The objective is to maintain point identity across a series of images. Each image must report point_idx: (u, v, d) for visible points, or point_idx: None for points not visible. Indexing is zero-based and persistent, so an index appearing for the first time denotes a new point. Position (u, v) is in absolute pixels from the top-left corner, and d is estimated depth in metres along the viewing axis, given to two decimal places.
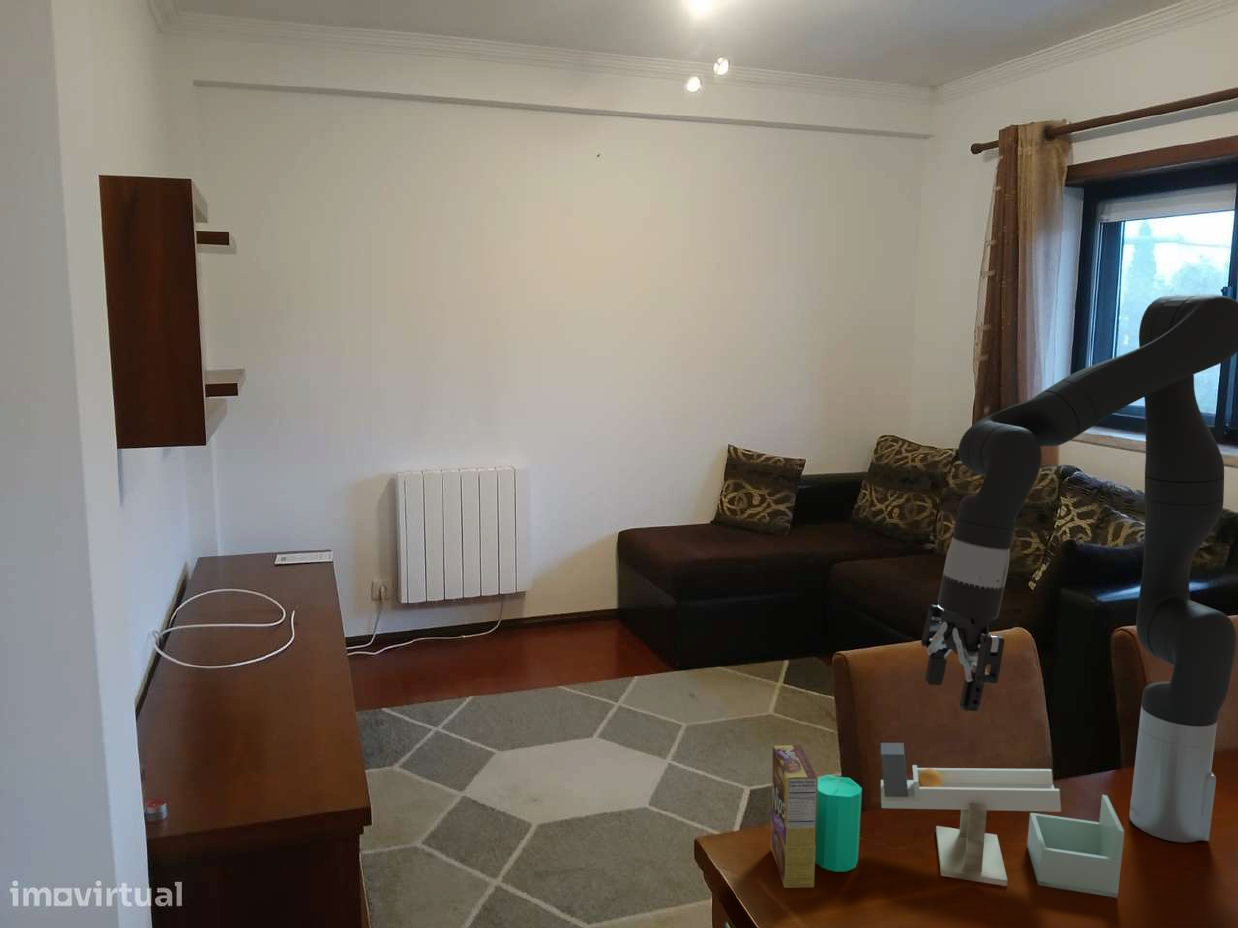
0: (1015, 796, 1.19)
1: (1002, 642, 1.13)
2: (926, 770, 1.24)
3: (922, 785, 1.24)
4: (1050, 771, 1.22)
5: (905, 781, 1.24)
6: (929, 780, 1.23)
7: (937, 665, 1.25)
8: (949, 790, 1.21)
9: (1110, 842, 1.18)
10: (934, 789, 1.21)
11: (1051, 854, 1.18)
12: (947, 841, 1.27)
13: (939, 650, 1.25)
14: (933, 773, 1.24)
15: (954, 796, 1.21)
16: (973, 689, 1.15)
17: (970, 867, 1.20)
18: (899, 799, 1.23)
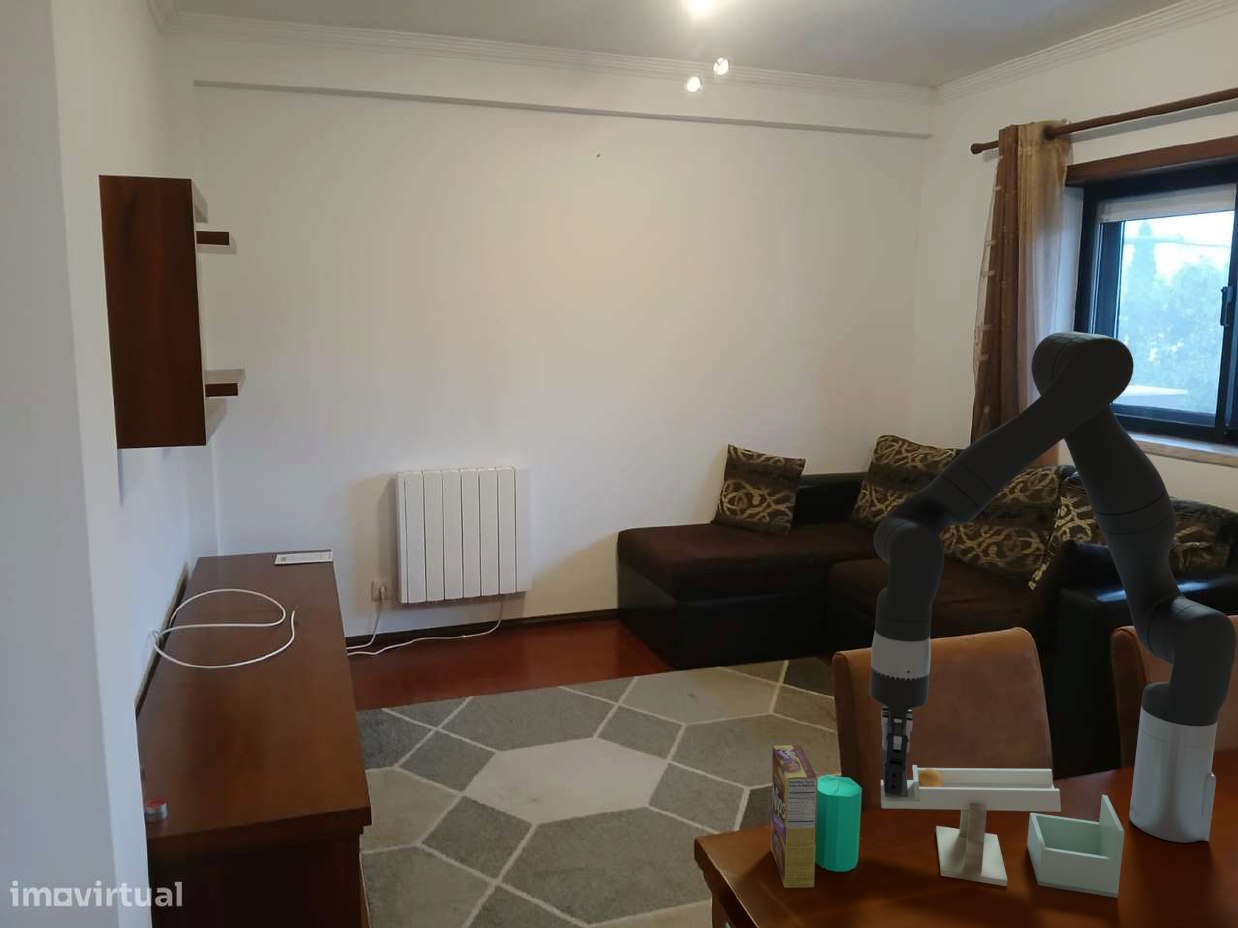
0: (1015, 796, 1.19)
1: (905, 743, 1.18)
2: (926, 770, 1.24)
3: (922, 785, 1.24)
4: (1050, 771, 1.22)
5: (905, 781, 1.24)
6: (929, 780, 1.23)
7: None
8: (949, 790, 1.21)
9: (1110, 842, 1.18)
10: (934, 789, 1.21)
11: (1051, 854, 1.18)
12: (947, 841, 1.27)
13: None
14: (933, 773, 1.24)
15: (954, 796, 1.21)
16: (889, 774, 1.23)
17: (970, 867, 1.20)
18: (899, 799, 1.23)
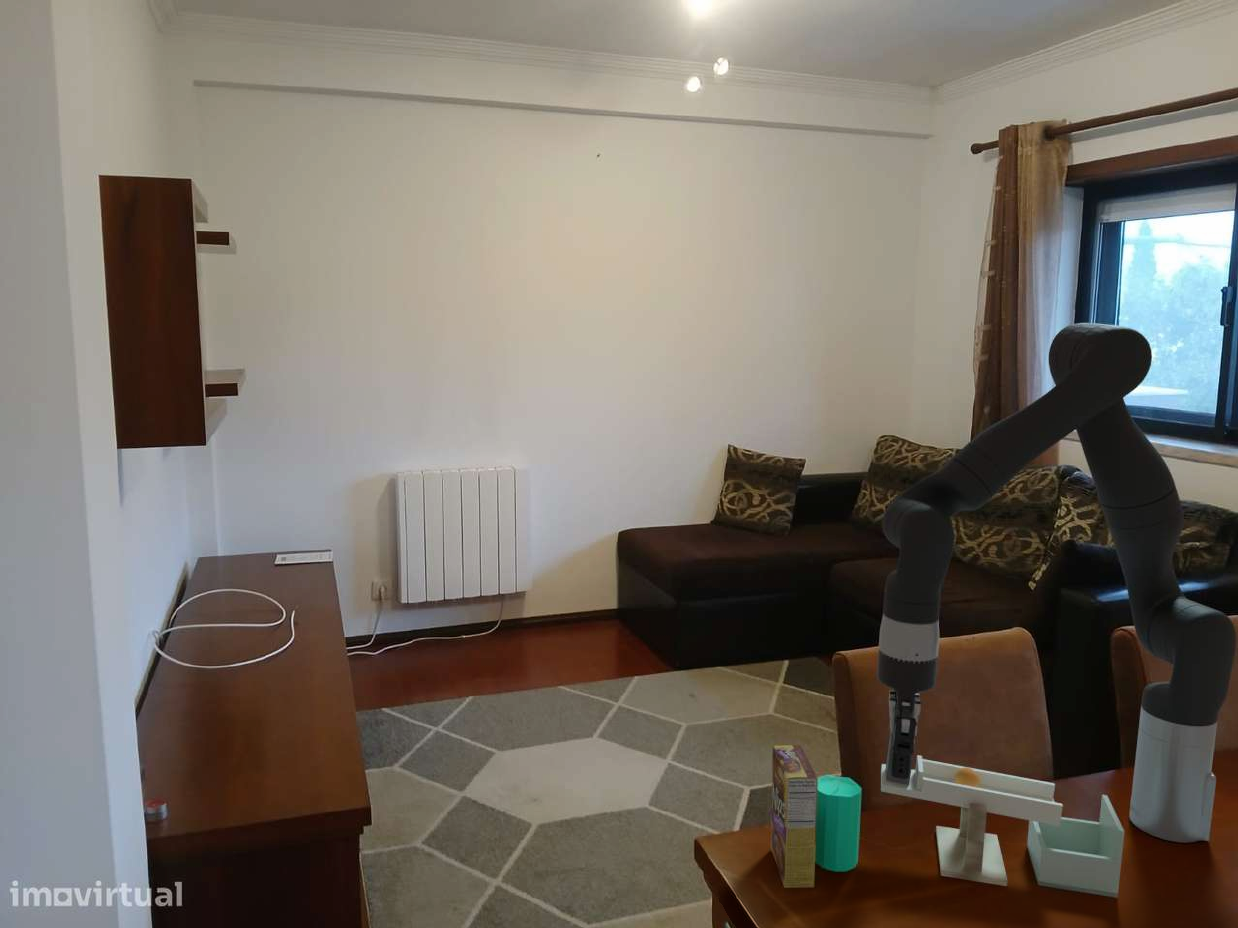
0: (1017, 803, 1.19)
1: (913, 726, 1.17)
2: None
3: (976, 780, 1.22)
4: (1053, 785, 1.23)
5: (909, 769, 1.23)
6: None
7: None
8: (952, 786, 1.21)
9: (1110, 842, 1.18)
10: (938, 782, 1.21)
11: (1051, 854, 1.18)
12: (947, 841, 1.27)
13: None
14: None
15: (956, 792, 1.21)
16: (896, 758, 1.22)
17: (970, 867, 1.20)
18: (900, 786, 1.23)
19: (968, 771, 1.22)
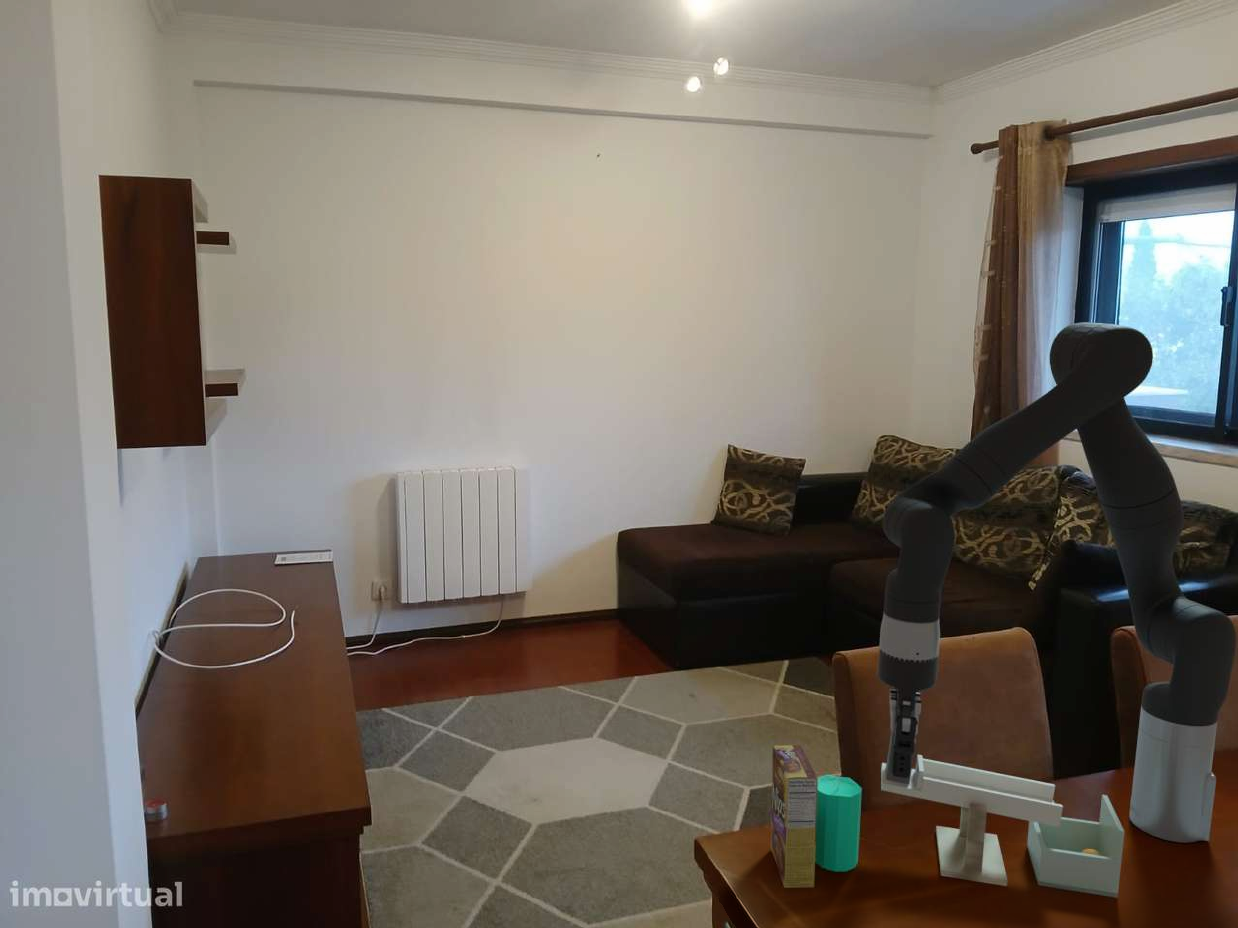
0: (1017, 804, 1.19)
1: (914, 725, 1.17)
2: None
3: None
4: (1053, 786, 1.23)
5: (910, 768, 1.23)
6: None
7: None
8: (953, 785, 1.21)
9: (1110, 842, 1.18)
10: (938, 782, 1.21)
11: (1051, 854, 1.18)
12: (947, 841, 1.27)
13: None
14: None
15: (956, 792, 1.21)
16: (897, 757, 1.22)
17: (970, 867, 1.20)
18: (901, 785, 1.23)
19: (1088, 853, 1.20)
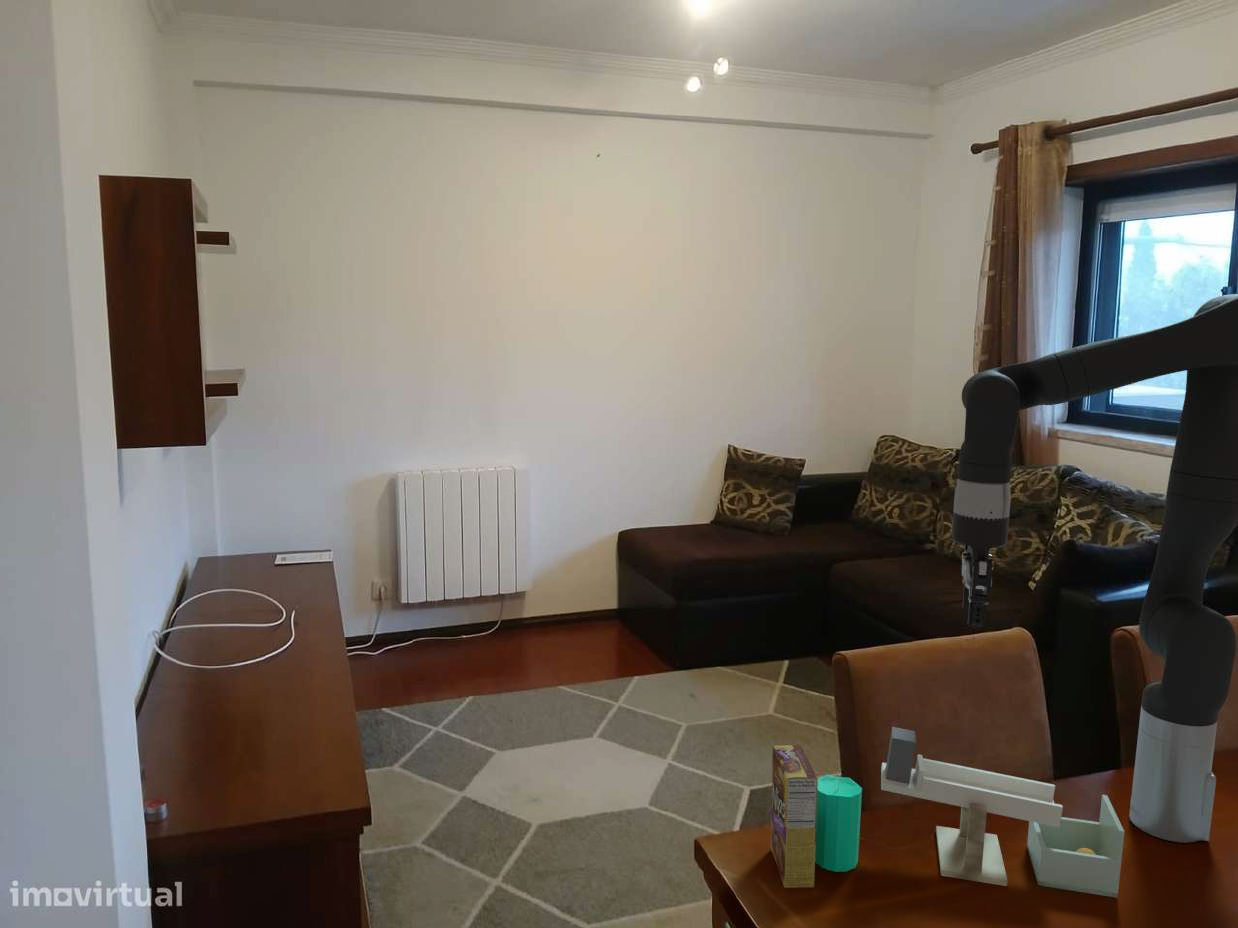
0: (1017, 804, 1.19)
1: (990, 566, 1.27)
2: None
3: None
4: (1053, 786, 1.23)
5: (910, 768, 1.23)
6: None
7: None
8: (953, 785, 1.21)
9: (1110, 842, 1.18)
10: (938, 782, 1.21)
11: (1051, 854, 1.18)
12: (947, 841, 1.27)
13: None
14: None
15: (956, 792, 1.21)
16: (973, 609, 1.30)
17: (970, 867, 1.20)
18: (901, 784, 1.23)
19: None
